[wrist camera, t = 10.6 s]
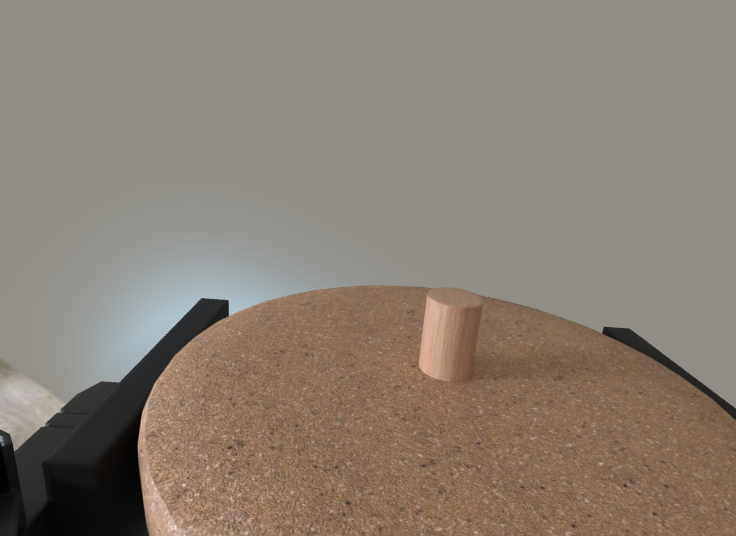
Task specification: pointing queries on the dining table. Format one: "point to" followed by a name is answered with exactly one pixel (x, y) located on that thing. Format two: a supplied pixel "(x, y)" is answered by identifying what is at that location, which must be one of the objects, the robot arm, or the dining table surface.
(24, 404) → the dining table surface
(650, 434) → the trinket box
